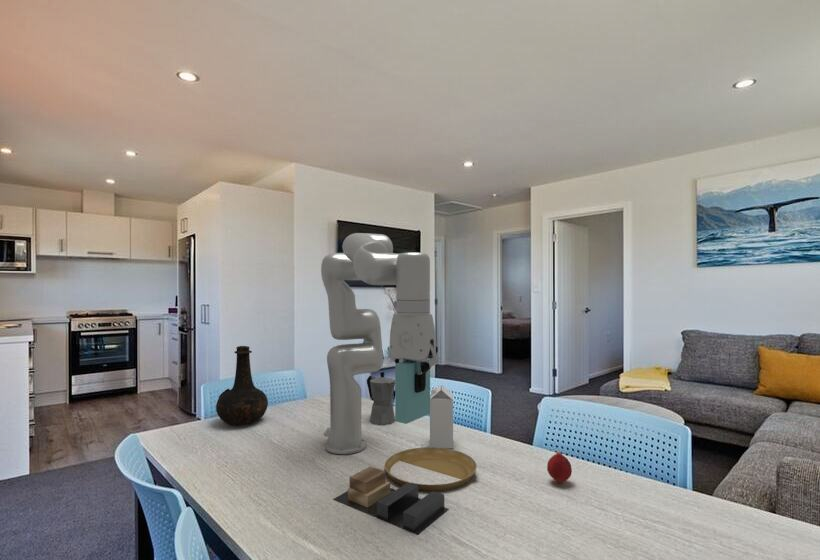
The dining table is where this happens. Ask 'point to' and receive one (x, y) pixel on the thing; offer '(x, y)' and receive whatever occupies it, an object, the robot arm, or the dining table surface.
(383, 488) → the offcut low
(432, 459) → the plant saucer
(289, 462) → the dining table surface
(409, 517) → the rack
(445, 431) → the milk carton
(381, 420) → the coffeepot
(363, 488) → the offcut high
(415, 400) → the teal board
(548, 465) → the onion
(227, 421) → the glass bottle
